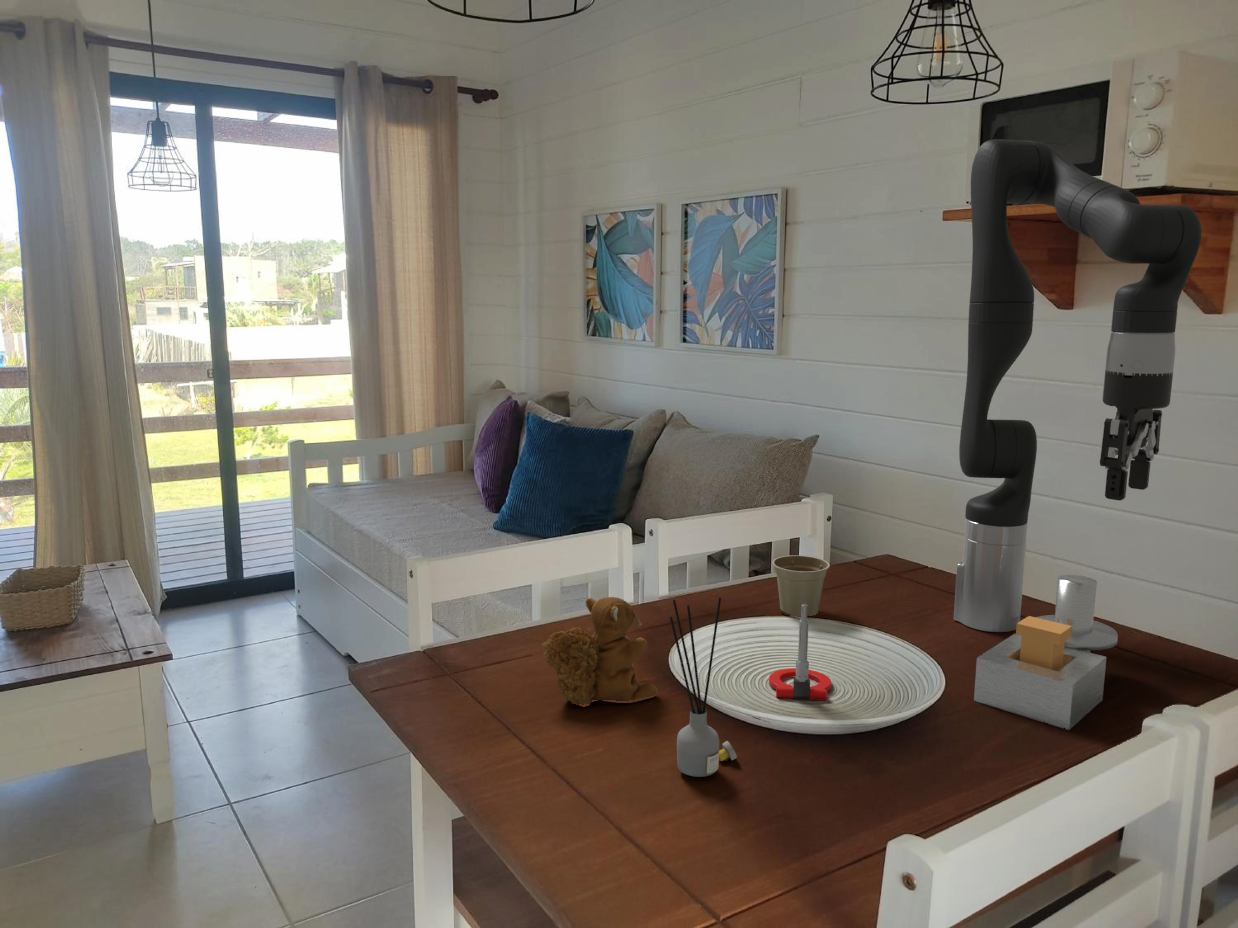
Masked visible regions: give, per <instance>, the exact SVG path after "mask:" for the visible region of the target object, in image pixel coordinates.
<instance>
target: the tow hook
mask: <svg viewBox="0 0 1238 928" xmlns="http://www.w3.org/2000/svg"><path fill="white" fill-rule="evenodd" d="M807 608H808V605H807V604H802V609H801V618H799V620H798V622H799V624H798V629H799V630H798V649H797V651H798V652H797V653H798V654H797V660H796V662H795V668H783V669H778V670H776V671H775V670H774V671H773V672H771V674H770V675H768V683H769V685H770V687H772V688H773V689H775V696H776V698H784V699H785V698H789V699H794V700H805V701H809V700H818V701H827V699H828V692H829V691H830V690H831V689H832V680H831V678H830V677H829V676H828V675H826V674H824V673H823V672H819V671H815V670H812V669H810V668H809V666H810V663H809V661H808V649H809V647H808V646H809V624H810V623H809V619H808V616H807ZM793 676H796V677H793ZM787 677H788V678H793V684H789V683H786V682H784V681H782V680H784V679H787ZM811 680H813V681H815V682H817V683H818V684H815V685H811Z"/></svg>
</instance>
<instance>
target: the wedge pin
mask: <svg viewBox="0 0 1238 928" xmlns="http://www.w3.org/2000/svg"><path fill="white" fill-rule="evenodd" d="M1036 617H1037V616H1036ZM1036 617H1035V616H1030V615H1028V616H1026V617H1025V618H1023V619H1020V622H1018V623H1017V625H1016V630H1015V634H1016V635H1020V636H1022V637H1021V650H1020V661H1021V662H1025V663H1029V664H1032V665H1036V666H1040V667H1044V668H1047V669H1051V670H1055V671H1059V670H1061V669H1062V666H1063V654H1064V643H1065V641H1066V640H1068V639H1069V638H1071V633H1072V626H1070V625H1065V624H1061V623H1057V622H1053V621H1048V620H1044V619H1040V618H1036Z"/></svg>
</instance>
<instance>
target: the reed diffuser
mask: <svg viewBox="0 0 1238 928" xmlns="http://www.w3.org/2000/svg"><path fill="white" fill-rule="evenodd" d="M672 602H673V607H674V611H675V616H676V620H677V621H676V622H677V625H678V626H677V627H678V630H679V634H680V638H681V643H682V648H683V652H684V658H685V661H686V665H687V670H688V675H689V678H690V680H688V678H687V673H686V668H685V665H684V661H683V656H682V653H681V647H680V644H679V639H678V636H677V631H676V627H675V624H674V618H673V616H672V615H670V616H669V621H670V624H671V630H672V631H673V636H674V641H675V645H676V646H675V647H676V649H677V654H678V657H679V661H680V662H679V663H680V666H681V670H682V674H683V679H684V681H685V686H686V691H687V694H688V698H689V704H690V707H691V708H690V710H689V724H687V725H685V726H684V727H682V728H681V729H680V730H679V731H678V734H677V737H676V758H677V759H676V761H677V769H678V770H679V771H680V772H681V773H683V774H685V775H687V776H691V777H697V778H699V777H701V778H702V777H708V776H711V775H713V774H715V773H717V770H718V769H719V766H720V765H719V763H720V762H723V761H725V760H727V759H728V758H730V759H731V760H730V759H729V760H730V761H734V760H736V759H737V758H738V756H737V754H736V752H735V749H734V748H733V746H732V745H731V743H730V741H728V740H726V741H724V742H723V743H721V745H722V749H720V737H719V734H718V732H717V731H716V729H714V728H712V727H711V726H710V725H708V723H707V722H708V720H707V719H708V712H707V711H708V710H707V707H706V706H707V699H708V691H709V686H710V680H711V679H710V677H711V671H712V665H713V657H714V652H715V651H714V650H715V645H716V639H717V638H716V637H717V632H718V631H717V630H718V623H719V616H720V611H721V602H722V597H718V602H717V610H716V615H715V623H714V629H713V634H712V635H713V637H712V642H711V643H712V644H711V651H710V656H709V664H708V665H709V666H708V672H707V678H706V685H705V692H704V699H703V706H702V698H701V691H700V690H701V689H700V682H699V672H698V666H697V657H696V650H695V649H696V648H695V641H694V633H693V625H692V617H691V608H690V606H691V605H690V604H687V605H686V608H687V609H686V610H687V617H688V625H689V632H690V635H689V636H690V641H691V649H692V658H693V666H694V667H693V668H694V674H695V676H694V677H695V682H696V689H695V685H694V679H693V675H692V670H691V665H690V660H689V656H688V652H687V648H686V643H685V639H684V638H685V637H684V635H683V628H682V626H681V620H680V615H679V612H678V608H677V607H678V606H677V602H676V599H674V598H673V599H672ZM688 681H690V684H691V689H692V693H693V697H694V701H695V706H694V703H693V698H692V694H691V690H690V686H689V682H688ZM696 691H697V693H696Z"/></svg>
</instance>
